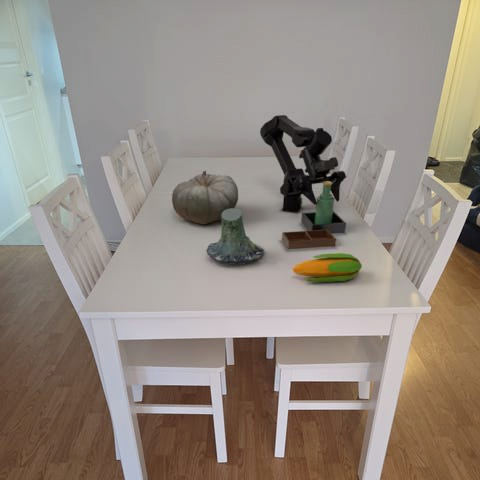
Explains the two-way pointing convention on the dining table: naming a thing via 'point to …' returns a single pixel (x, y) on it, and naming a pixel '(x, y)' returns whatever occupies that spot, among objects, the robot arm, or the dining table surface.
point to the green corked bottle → (324, 205)
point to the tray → (334, 227)
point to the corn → (329, 267)
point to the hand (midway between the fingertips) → (327, 202)
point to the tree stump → (234, 241)
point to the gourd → (204, 197)
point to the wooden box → (308, 239)
